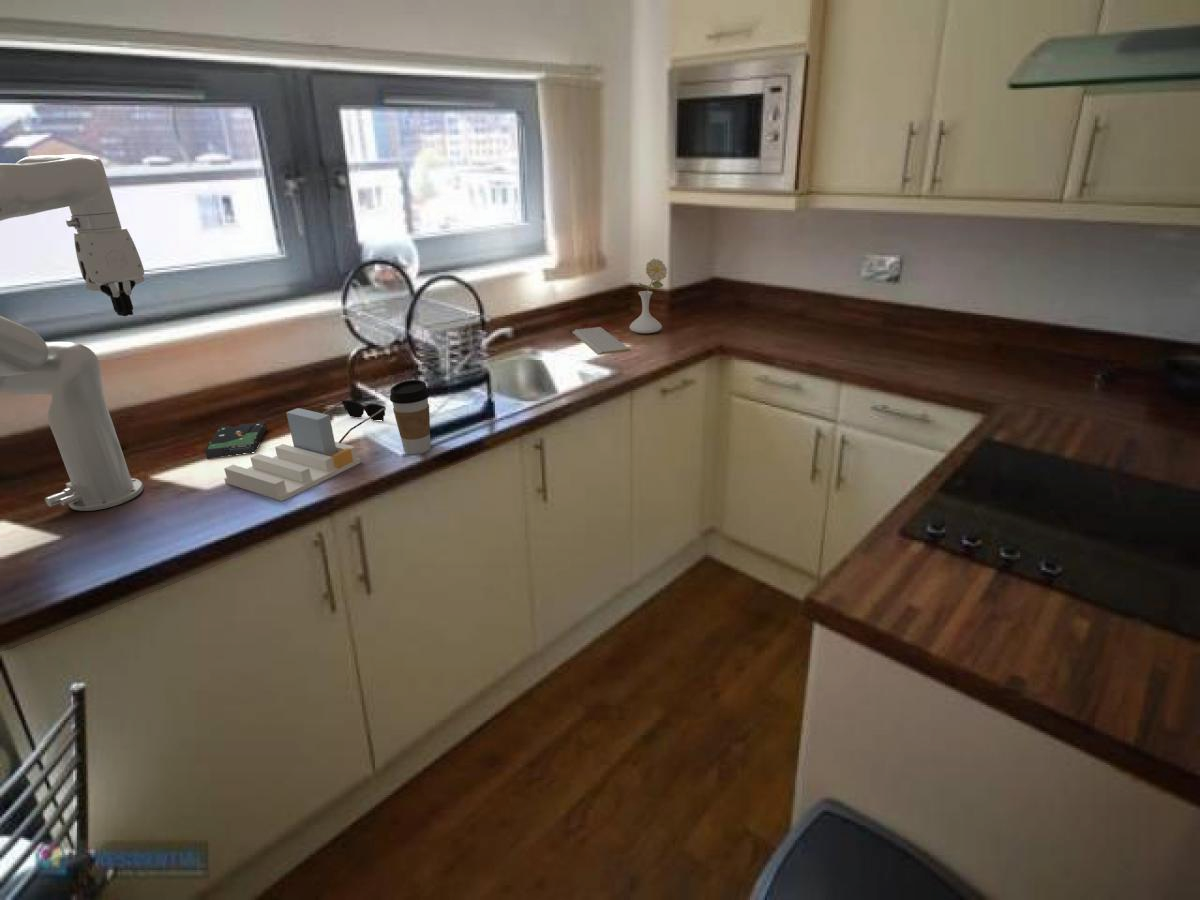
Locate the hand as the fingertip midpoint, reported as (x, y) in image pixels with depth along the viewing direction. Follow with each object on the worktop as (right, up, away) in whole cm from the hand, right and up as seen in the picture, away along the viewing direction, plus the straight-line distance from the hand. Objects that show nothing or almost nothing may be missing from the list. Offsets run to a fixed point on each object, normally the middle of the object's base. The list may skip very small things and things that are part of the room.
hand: (125, 314), depth 147 cm
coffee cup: (+58, -28, +12) cm, 65 cm away
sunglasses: (+37, -24, +24) cm, 50 cm away
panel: (+37, -30, +6) cm, 48 cm away
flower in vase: (+116, +13, +101) cm, 154 cm away
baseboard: (+98, +8, +91) cm, 134 cm away
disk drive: (+14, -27, +18) cm, 36 cm away
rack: (+34, -33, +2) cm, 48 cm away
